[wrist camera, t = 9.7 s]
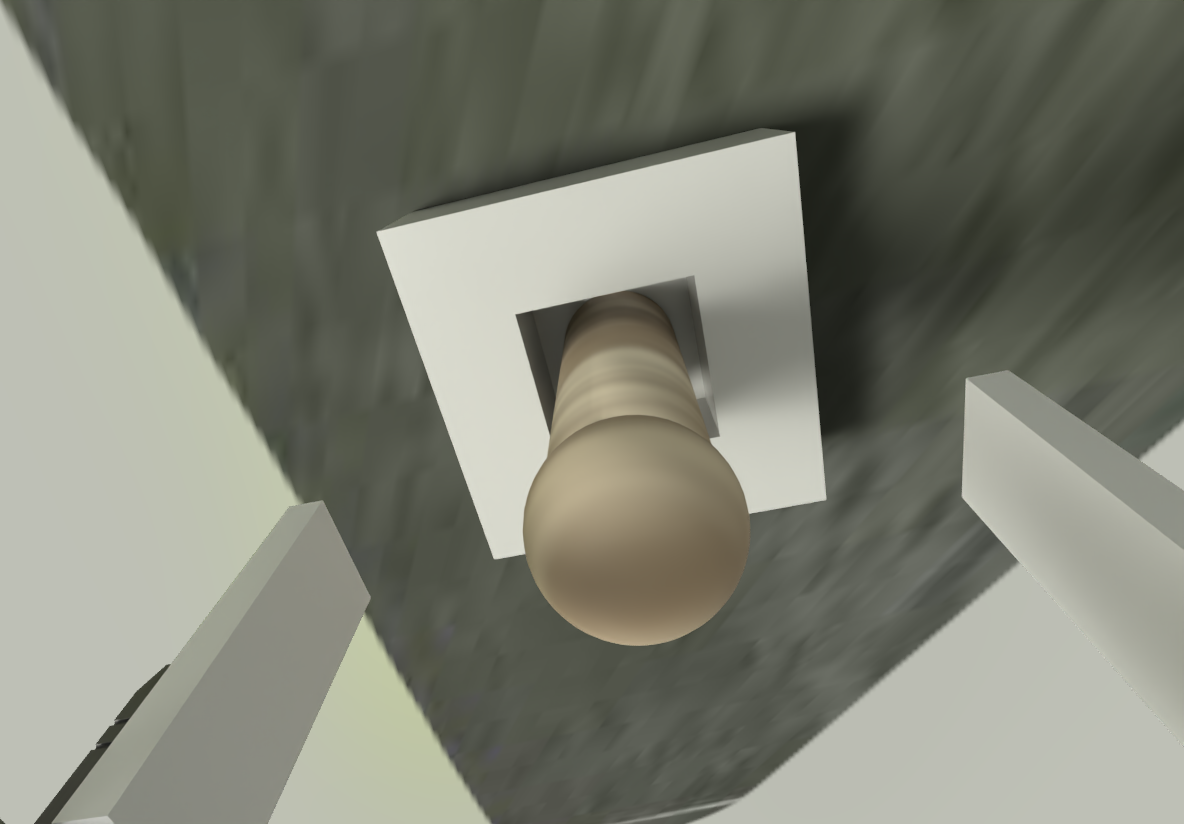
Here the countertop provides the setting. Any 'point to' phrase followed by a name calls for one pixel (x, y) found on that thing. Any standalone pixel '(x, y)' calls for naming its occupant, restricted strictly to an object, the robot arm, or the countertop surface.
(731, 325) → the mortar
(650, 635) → the pestle
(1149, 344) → the countertop surface
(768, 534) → the countertop surface
